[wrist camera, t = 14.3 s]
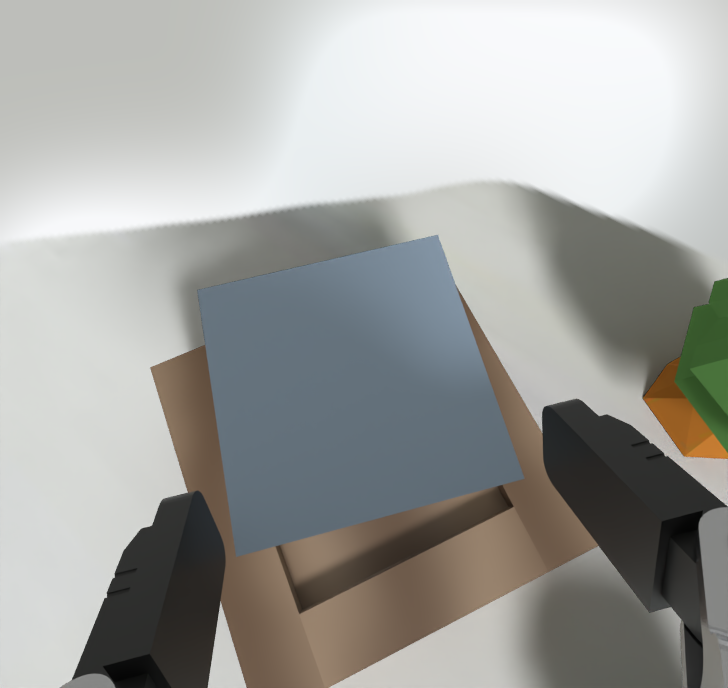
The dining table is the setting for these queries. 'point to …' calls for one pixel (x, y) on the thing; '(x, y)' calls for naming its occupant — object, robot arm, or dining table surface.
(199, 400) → the square wooden tray
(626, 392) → the dining table surface
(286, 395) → the blue-grey square-topped block
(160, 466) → the dining table surface
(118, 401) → the dining table surface
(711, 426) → the decorative tree
